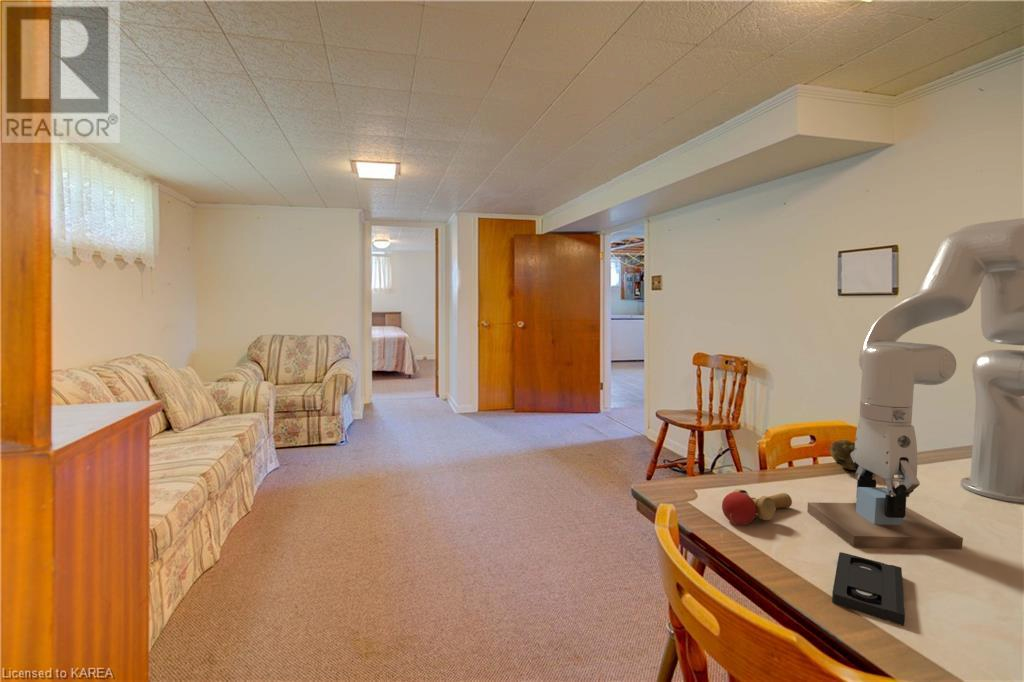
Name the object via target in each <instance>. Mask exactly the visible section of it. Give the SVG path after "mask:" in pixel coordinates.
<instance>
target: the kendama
mask: <svg viewBox="0 0 1024 682" xmlns="http://www.w3.org/2000/svg"><path fill="white" fill-rule="evenodd" d="M792 504H793V499H792V497H791V495H789V494H788V493H786V492H780V493H777V494H773V495H769V496H768V495H767V496H766V495H762V496H760V497H759V498H756V497H752V496H750V495H749V493H748V492H747V491H746V490H745V489H741V488H736V489H733V491H732V492H729V493H728V494H726V495H725V497H724V498H723V500H722V503H721V509H722V513H723V515H724V516H725V518H726V519H727V520H728V521H730V522H731V523H732V524H734V525H737V524H738V525H740V526H744V525H749V524H750V523H753V521H754V519H755V518H756V516H758V518H759V519H760V520H763V521H770V520H772V519H773V517H774V516H775V513H776V512H775V511H776V509H787V508H790V507H792Z"/></svg>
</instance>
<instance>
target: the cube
mask: <svg viewBox="0 0 1024 682" xmlns="http://www.w3.org/2000/svg"><path fill="white" fill-rule="evenodd" d="M886 495H889V493H888V489H887V487H882V486H881V487H878V486H876V487H857V486H856V496H857V498H856V502H855V503H856V513H858V514H859V515H861V516H862V517H864V518H865V519H867V520H868V521H870V522H871V523H873V524H876V525H903V518H888V517H886V516H885V514H884V512H885V496H886Z"/></svg>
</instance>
